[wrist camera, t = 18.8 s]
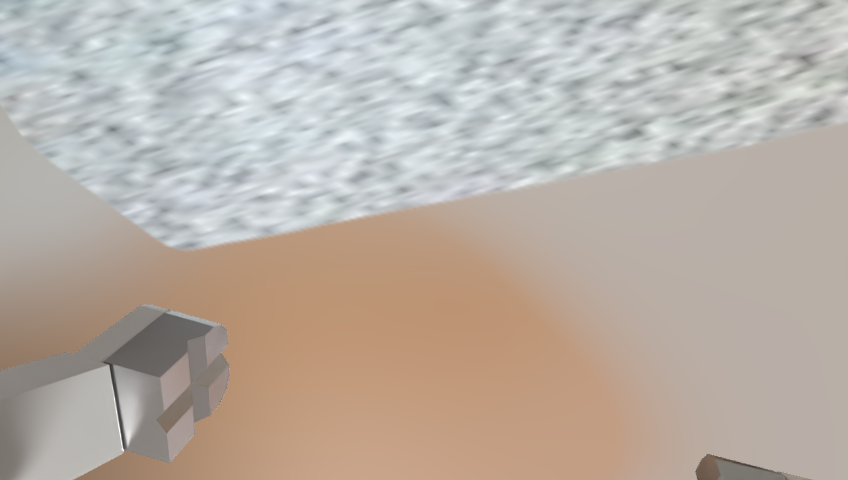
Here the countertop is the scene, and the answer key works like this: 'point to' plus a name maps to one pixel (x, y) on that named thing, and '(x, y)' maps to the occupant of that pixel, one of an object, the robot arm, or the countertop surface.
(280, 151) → the countertop surface
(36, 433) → the robot arm
